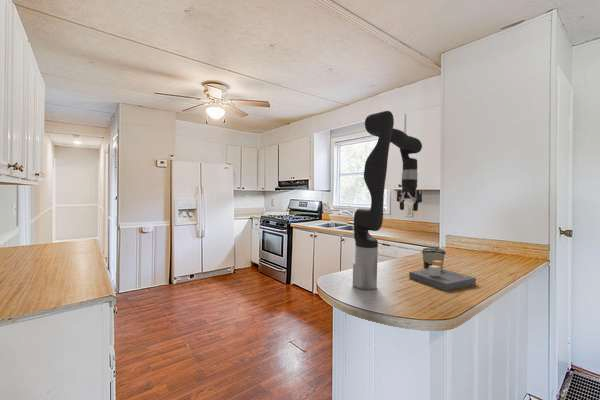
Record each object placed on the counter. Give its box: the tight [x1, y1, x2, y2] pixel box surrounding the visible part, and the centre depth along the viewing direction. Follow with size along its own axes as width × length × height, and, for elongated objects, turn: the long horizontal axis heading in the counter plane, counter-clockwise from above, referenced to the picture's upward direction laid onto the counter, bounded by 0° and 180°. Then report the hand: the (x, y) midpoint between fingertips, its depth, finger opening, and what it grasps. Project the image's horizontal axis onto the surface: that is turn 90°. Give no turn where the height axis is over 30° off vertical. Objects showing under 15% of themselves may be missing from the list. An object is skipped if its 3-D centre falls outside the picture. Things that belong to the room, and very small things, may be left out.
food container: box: [421, 247, 447, 269], centre depth 152 cm, size 12×6×10 cm, turn 84°
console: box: [408, 268, 477, 292], centre depth 127 cm, size 20×19×3 cm
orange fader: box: [432, 260, 444, 270], centre depth 134 cm, size 4×3×4 cm
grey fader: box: [428, 265, 441, 277], centre depth 124 cm, size 4×3×4 cm
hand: (408, 210), depth 143 cm, fingers open, 8 cm apart
